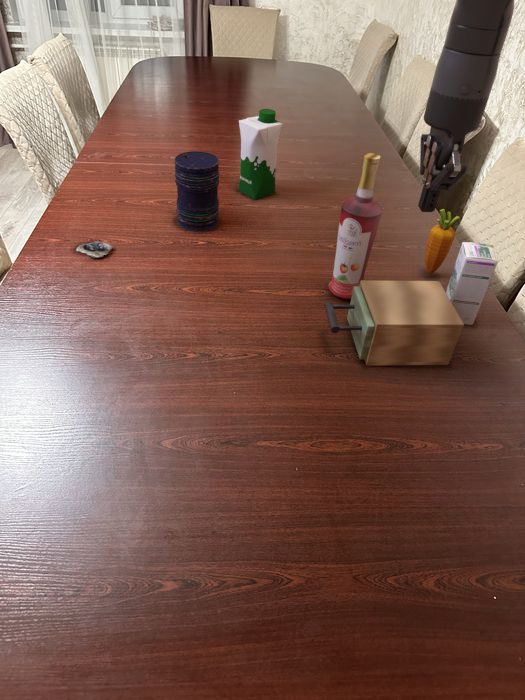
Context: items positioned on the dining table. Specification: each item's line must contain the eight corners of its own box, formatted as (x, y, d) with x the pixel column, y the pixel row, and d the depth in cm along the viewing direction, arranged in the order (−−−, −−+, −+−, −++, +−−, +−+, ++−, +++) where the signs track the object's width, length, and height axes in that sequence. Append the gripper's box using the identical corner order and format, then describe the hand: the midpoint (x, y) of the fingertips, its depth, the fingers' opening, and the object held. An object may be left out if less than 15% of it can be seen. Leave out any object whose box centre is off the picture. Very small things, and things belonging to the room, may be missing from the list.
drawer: (329, 359, 89) (335, 326, 84) (318, 318, 97) (324, 285, 93) (435, 359, 91) (447, 326, 86) (416, 318, 99) (426, 286, 94)
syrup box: (473, 326, 100) (501, 260, 90) (442, 321, 100) (466, 256, 91) (469, 308, 104) (495, 244, 95) (439, 304, 105) (462, 240, 95)
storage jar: (226, 218, 126) (227, 157, 116) (206, 235, 119) (205, 172, 110) (190, 208, 129) (188, 147, 119) (169, 224, 122) (165, 162, 112)
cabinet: (366, 365, 90) (377, 324, 84) (351, 320, 99) (360, 280, 93) (447, 365, 91) (464, 324, 85) (425, 320, 100) (439, 280, 94)
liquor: (368, 291, 106) (401, 155, 88) (352, 308, 102) (383, 168, 83) (337, 279, 109) (362, 144, 91) (320, 294, 105) (342, 156, 86)
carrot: (445, 278, 112) (468, 214, 102) (428, 283, 110) (449, 219, 100) (429, 266, 115) (449, 203, 105) (412, 272, 113) (431, 208, 103)
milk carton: (280, 193, 138) (287, 115, 125) (254, 202, 134) (258, 121, 120) (258, 182, 143) (262, 105, 130) (232, 190, 138) (234, 110, 125)
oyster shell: (104, 262, 109) (103, 254, 108) (68, 255, 110) (67, 248, 108) (117, 246, 114) (116, 238, 113) (83, 240, 115) (82, 232, 113)
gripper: (509, 104, 64) (464, 231, 75) (469, 75, 74) (435, 191, 85) (450, 102, 63) (414, 230, 75) (418, 73, 73) (390, 190, 84)
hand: (425, 209), depth 80 cm, fingers closed
